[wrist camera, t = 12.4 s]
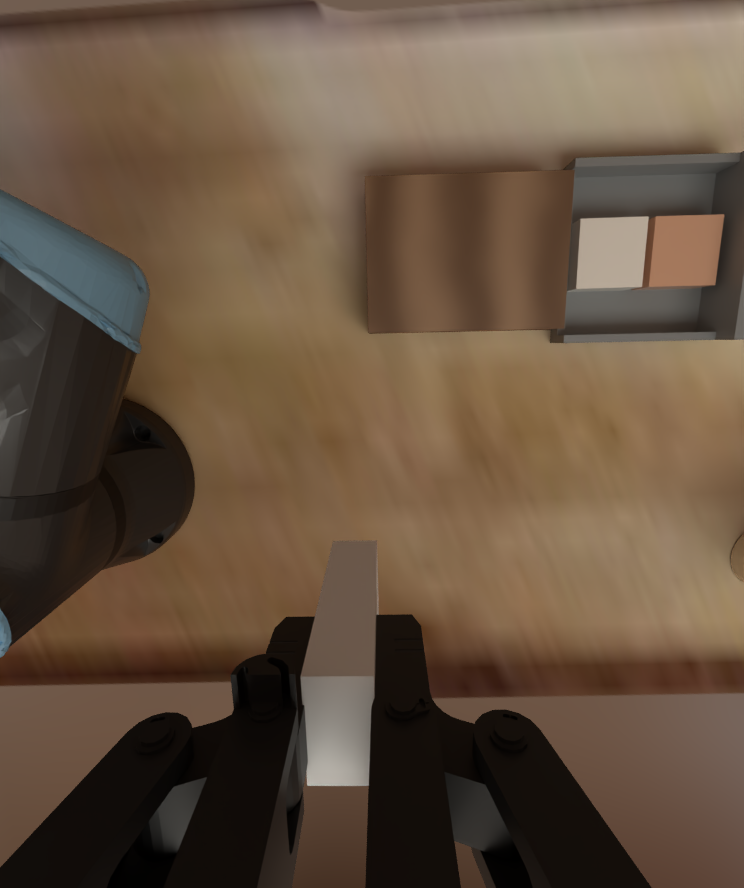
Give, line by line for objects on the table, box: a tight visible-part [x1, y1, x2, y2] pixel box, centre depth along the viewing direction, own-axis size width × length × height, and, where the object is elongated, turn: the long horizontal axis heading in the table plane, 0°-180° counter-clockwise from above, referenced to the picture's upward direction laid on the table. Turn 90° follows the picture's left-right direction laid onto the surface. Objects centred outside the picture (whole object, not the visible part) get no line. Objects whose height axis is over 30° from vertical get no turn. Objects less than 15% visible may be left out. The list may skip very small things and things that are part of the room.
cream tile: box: [567, 216, 649, 292], centre depth 36 cm, size 5×5×2 cm
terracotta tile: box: [632, 214, 724, 290], centre depth 36 cm, size 5×5×2 cm
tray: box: [550, 151, 744, 343], centre depth 36 cm, size 13×13×5 cm
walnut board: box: [365, 170, 575, 334], centre depth 37 cm, size 15×11×4 cm
